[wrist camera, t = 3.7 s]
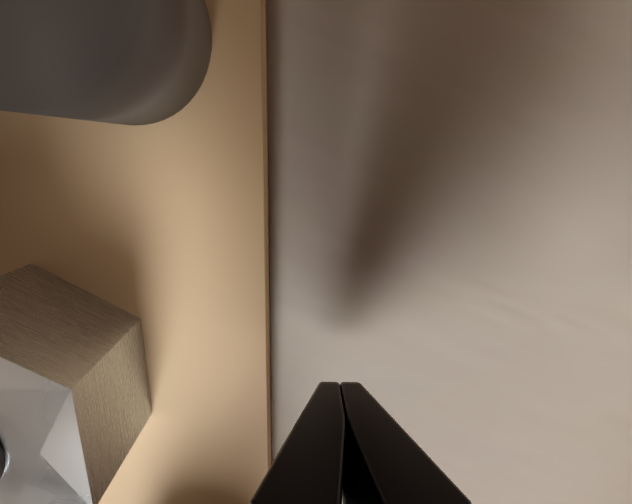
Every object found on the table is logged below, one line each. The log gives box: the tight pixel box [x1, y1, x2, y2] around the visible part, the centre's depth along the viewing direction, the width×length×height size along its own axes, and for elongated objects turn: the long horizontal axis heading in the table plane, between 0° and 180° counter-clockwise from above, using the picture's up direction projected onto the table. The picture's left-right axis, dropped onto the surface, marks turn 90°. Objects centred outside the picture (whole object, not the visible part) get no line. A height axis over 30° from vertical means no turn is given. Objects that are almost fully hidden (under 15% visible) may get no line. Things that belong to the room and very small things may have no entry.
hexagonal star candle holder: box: [0, 263, 152, 504], centre depth 7 cm, size 4×5×3 cm
